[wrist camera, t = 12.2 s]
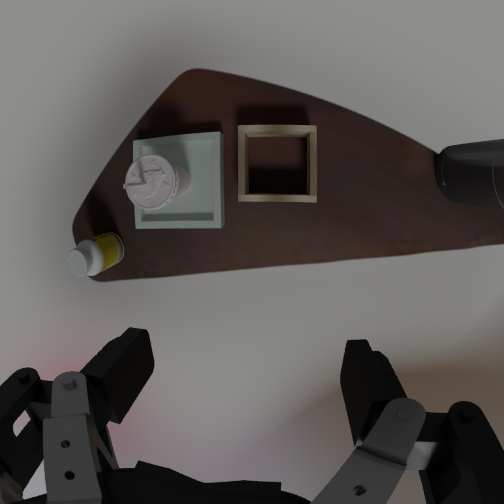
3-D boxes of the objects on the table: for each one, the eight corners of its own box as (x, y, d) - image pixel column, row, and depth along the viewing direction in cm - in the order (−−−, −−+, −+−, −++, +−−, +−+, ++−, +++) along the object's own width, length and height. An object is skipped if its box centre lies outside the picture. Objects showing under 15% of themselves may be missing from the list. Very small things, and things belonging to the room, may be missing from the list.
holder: (312, 132, 36) (316, 125, 31) (312, 200, 38) (316, 202, 34) (242, 131, 37) (237, 125, 32) (243, 199, 39) (238, 201, 35)
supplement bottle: (117, 226, 42) (80, 238, 32) (130, 256, 43) (96, 275, 33) (95, 238, 43) (58, 252, 33) (107, 267, 44) (73, 286, 34)
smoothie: (151, 175, 38) (94, 175, 24) (186, 149, 37) (139, 136, 23) (172, 212, 39) (122, 228, 26) (209, 187, 38) (171, 191, 24)
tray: (223, 134, 37) (220, 131, 35) (224, 225, 40) (221, 228, 38) (140, 142, 38) (133, 141, 36) (143, 226, 41) (135, 228, 39)
